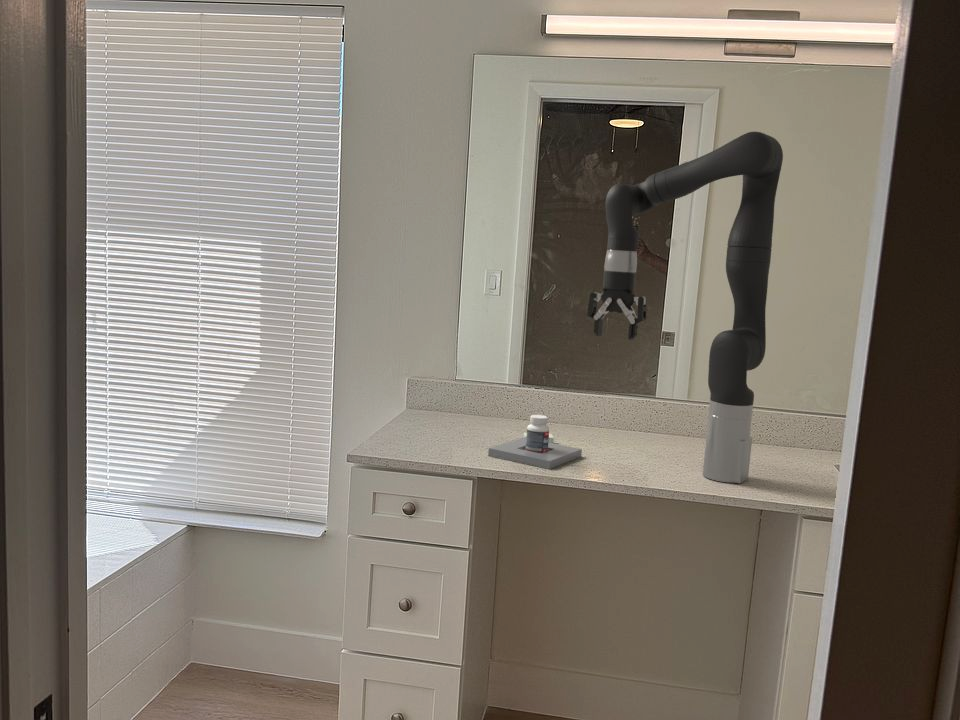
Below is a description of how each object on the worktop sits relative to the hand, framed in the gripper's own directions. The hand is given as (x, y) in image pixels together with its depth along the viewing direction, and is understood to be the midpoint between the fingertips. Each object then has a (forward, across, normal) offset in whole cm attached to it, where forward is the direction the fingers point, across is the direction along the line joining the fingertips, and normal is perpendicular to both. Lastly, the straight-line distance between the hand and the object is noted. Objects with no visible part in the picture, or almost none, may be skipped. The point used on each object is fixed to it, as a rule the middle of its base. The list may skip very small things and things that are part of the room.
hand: (614, 337), depth 206 cm
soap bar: (+28, +16, +5) cm, 33 cm away
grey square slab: (+28, +10, +17) cm, 34 cm away
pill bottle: (+28, +10, +17) cm, 34 cm away
